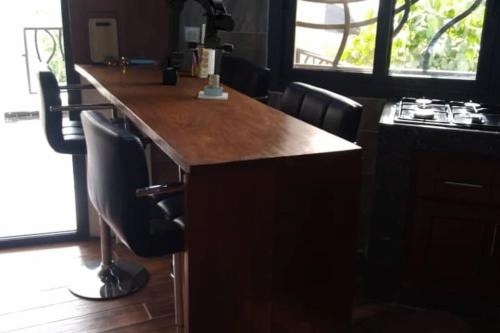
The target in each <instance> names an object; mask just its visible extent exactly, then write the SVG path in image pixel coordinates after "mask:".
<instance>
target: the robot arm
mask: <svg viewBox="0 0 500 333" xmlns="http://www.w3.org/2000/svg"><path fill="white" fill-rule="evenodd" d="M188 1H189V0H164V6H165V10H166V11H167V13H168V25H167V27H168V29H167V31H168V32H167V48H166V49H165V51H164V53H163V59H162V60H161V61H160V63H159V65H158V70H159V71H162V78H161V80H162V82H161V85H169V86H170V85H172V86H176V85H177V84H178V83H179V73H178V71H181V69H182V67H183V66H182V65H183V63H184V52H183V51H181V49H180V33H181V30H180V28H181V14H182V13H183V12H184V9H185V4H186V2H188ZM192 1H193V2H196V3H197V4H200V7H201V8H202V9H203V10H204V11H205V12H204V13H203V14H202V17H203V18H205V22H204V24H205V37H204V43H202V42H201V43H200V42H199V40H189V41H188V43H187V49H190V51H192V53H193V52H194V54H195V57H196V60H197V64H198V66H199V49H198V47H199V48H205V49H212V50H215V51H216V50H220V51H221V50H222V54H221V59H220V64H219V69H222V66H223V64H224V61H225V59H226V57H227V55H230V53H233V52H234V45H233V44H232V43H224V44H223V45H222V37H219V34H220V33H219V32H225V33H231V32H233V30H234V29H235V26H236V24H235V21H234V19H233V18H232V14H228V13H227V9H226V7H225V5H224V2H223V0H192Z"/></svg>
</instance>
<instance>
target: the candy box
mask: <svg viewBox="0 0 500 333" xmlns="http://www.w3.org/2000/svg"><path fill="white" fill-rule="evenodd" d="M198 49H199V66H198V64H197V60H196V57H195V54H194V52H193V51H192V61H191V62H192V63H191V64H192V65H191V76H192V77H196V78H200V79H208V75H209V74H208V60H209V49H205V48H199V47H198Z"/></svg>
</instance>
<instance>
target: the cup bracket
mask: <svg viewBox="0 0 500 333" xmlns="http://www.w3.org/2000/svg"><path fill="white" fill-rule="evenodd" d="M203 87H204V88H203V90H200V91H199V92H198V95H197V98H198V99H204V100H205V99H206V100H207V99H208V100H219V101H221V100H222V101H228V99H229V98H228V97H229V96H228V95H229V93H228V92H224V91H223V89H224V87H222V86H219V87H218V89H210V88H209V85H205V86H203Z"/></svg>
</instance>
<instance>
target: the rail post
mask: <svg viewBox="0 0 500 333" xmlns="http://www.w3.org/2000/svg"><path fill="white" fill-rule="evenodd" d="M208 75H209V77H208V78H209V79H208V86H209V88H210V89H218V87H220V86H219V85H220V84H219V83H220V75H219V74H208Z"/></svg>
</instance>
